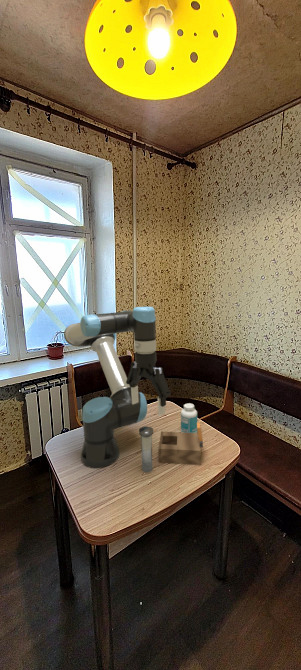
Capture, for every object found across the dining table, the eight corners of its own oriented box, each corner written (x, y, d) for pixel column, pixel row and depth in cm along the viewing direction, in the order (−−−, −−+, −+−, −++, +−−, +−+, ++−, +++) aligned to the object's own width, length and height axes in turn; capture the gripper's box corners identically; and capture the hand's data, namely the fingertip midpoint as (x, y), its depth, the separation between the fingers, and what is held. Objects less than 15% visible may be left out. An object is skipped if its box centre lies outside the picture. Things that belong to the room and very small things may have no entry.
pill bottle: (196, 428, 128) (196, 402, 126) (197, 437, 121) (198, 409, 118) (180, 428, 129) (180, 401, 126) (180, 436, 122) (180, 409, 119)
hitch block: (158, 462, 105) (158, 444, 104) (161, 444, 117) (161, 427, 115) (202, 465, 103) (203, 446, 101) (201, 446, 115) (201, 429, 113)
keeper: (199, 436, 109) (202, 435, 109) (199, 441, 106) (202, 441, 105) (196, 422, 108) (199, 422, 108) (197, 427, 105) (200, 427, 104)
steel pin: (139, 473, 100) (137, 433, 96) (141, 463, 105) (140, 426, 101) (153, 474, 99) (152, 434, 96) (154, 464, 104) (154, 426, 101)
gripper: (114, 348, 100) (118, 402, 104) (165, 359, 83) (166, 423, 87) (130, 344, 105) (132, 396, 109) (180, 354, 88) (181, 415, 92)
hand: (147, 408), depth 98 cm, fingers open, 13 cm apart
